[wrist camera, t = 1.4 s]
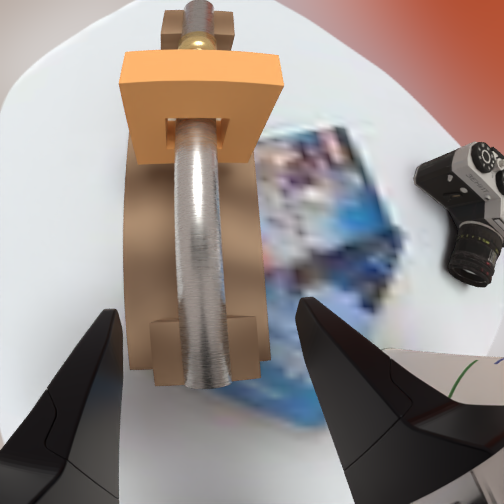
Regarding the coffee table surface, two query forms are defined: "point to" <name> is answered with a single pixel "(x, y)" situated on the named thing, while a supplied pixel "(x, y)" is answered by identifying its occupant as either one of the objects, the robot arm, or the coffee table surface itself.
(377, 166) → the coffee table surface
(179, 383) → the stand
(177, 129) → the pipe
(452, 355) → the cylindrical container
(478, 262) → the camera
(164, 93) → the collar
